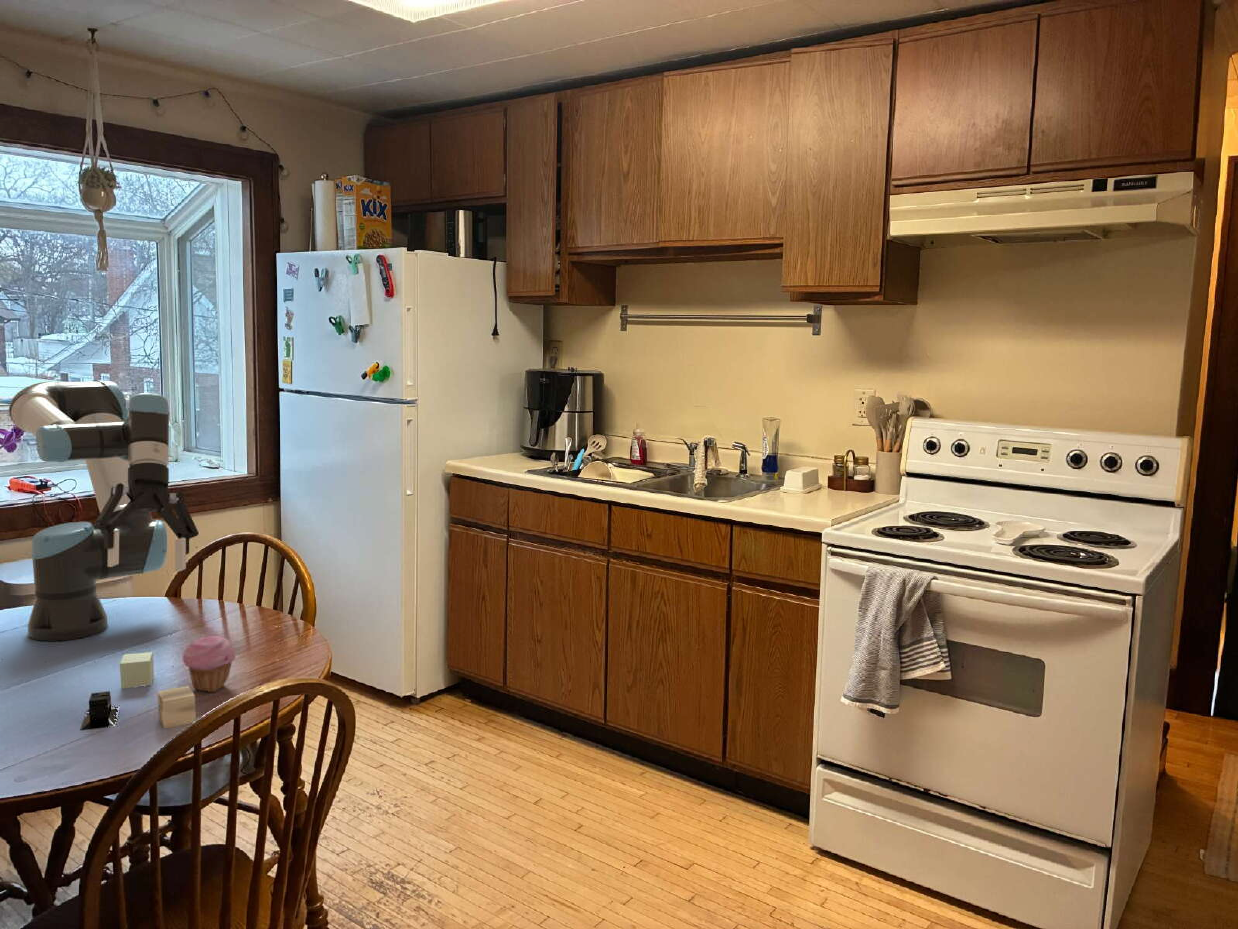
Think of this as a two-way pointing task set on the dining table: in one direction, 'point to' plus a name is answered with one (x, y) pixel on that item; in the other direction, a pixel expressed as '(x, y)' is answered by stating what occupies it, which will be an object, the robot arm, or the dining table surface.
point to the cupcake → (209, 662)
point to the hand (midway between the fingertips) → (147, 568)
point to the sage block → (136, 669)
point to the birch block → (176, 706)
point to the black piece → (99, 712)
